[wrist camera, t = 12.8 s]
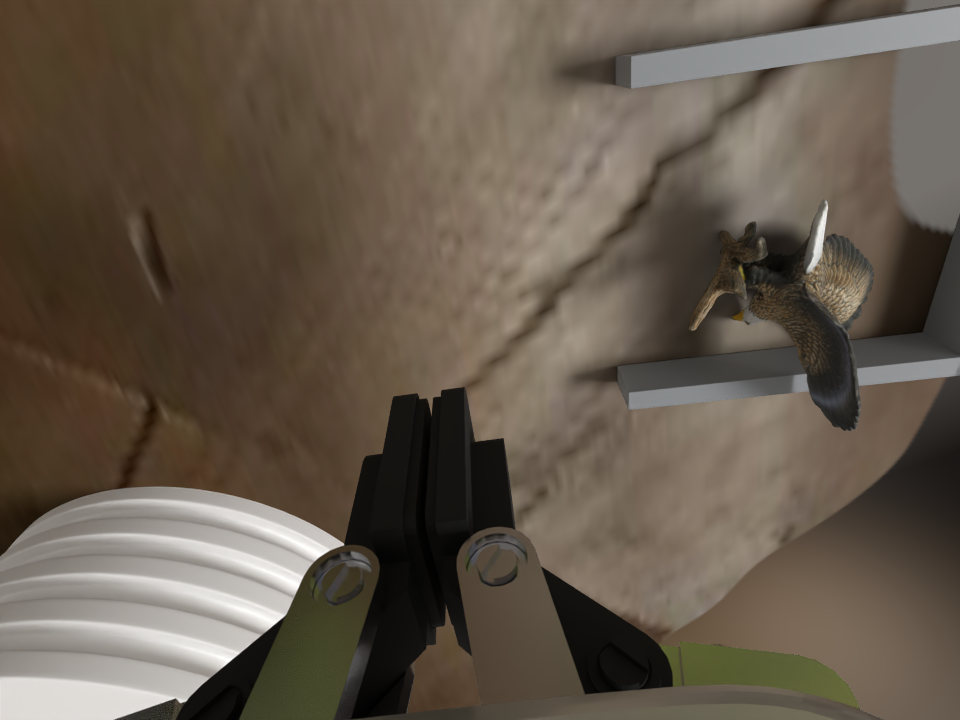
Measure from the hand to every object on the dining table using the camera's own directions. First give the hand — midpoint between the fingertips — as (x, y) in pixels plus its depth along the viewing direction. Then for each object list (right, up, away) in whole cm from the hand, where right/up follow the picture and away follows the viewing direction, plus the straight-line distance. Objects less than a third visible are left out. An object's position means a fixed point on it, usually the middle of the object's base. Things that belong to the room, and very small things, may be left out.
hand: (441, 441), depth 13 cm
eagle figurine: (+15, +6, +13) cm, 20 cm away
